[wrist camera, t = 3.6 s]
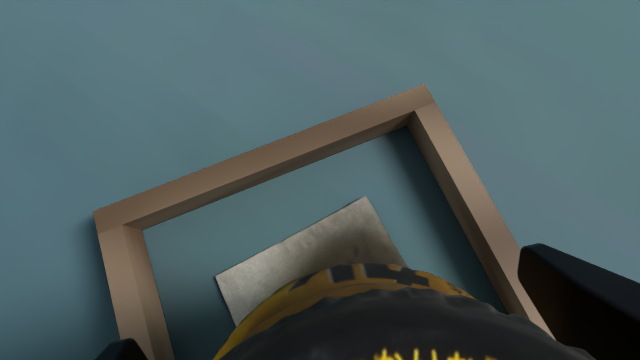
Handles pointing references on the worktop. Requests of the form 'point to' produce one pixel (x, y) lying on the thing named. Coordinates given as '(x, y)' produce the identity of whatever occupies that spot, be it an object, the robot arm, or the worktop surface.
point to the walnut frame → (282, 157)
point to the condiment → (364, 304)
